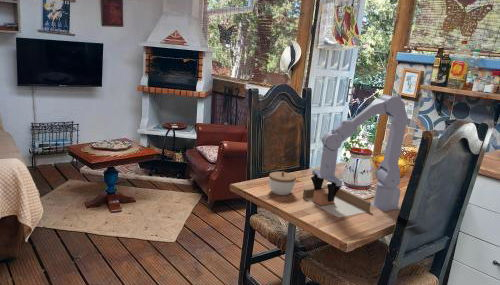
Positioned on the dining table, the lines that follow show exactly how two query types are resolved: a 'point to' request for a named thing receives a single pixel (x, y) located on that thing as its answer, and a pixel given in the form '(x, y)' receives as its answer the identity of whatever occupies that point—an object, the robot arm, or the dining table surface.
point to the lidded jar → (281, 182)
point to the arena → (341, 203)
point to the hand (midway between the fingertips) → (323, 197)
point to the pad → (323, 205)
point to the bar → (321, 197)
